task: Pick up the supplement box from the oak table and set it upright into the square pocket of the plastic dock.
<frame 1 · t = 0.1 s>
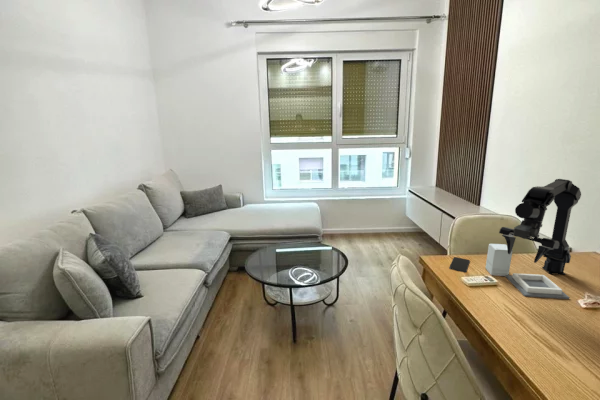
hand: (521, 258, 124), 15 cm above the table, tool pointing down, fingers open, 9 cm apart
supplement box: (496, 272, 145), on the table
smartphone: (459, 265, 153), on the table
dock: (535, 287, 132), on the table
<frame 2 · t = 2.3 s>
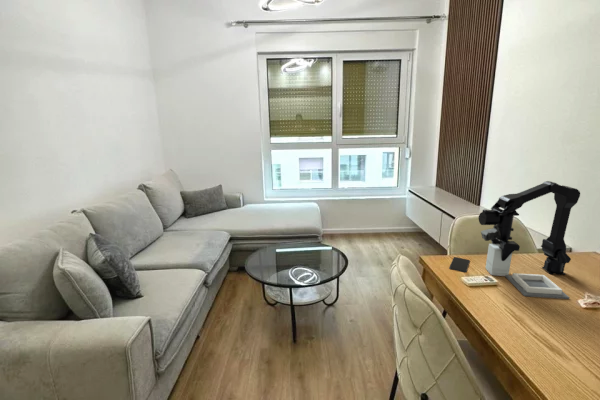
hand: (498, 257, 143), 8 cm above the table, tool pointing down, fingers closed on supplement box, 7 cm apart
supplement box: (496, 272, 145), on the table, touching gripper
everything else where it was.
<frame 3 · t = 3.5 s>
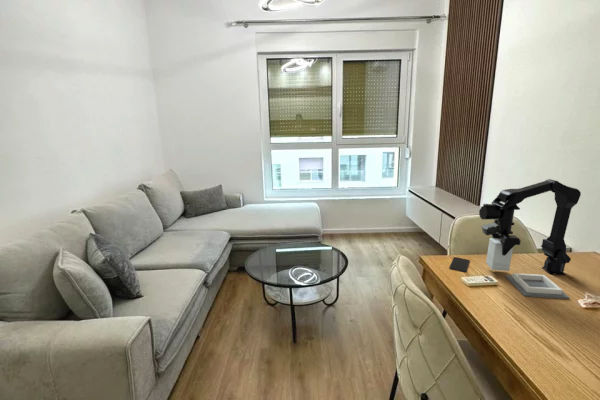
hand: (499, 251, 142), 10 cm above the table, tool pointing down, fingers closed on supplement box, 7 cm apart
supplement box: (497, 267, 144), point 2 cm above the table, touching gripper
everything else where it was.
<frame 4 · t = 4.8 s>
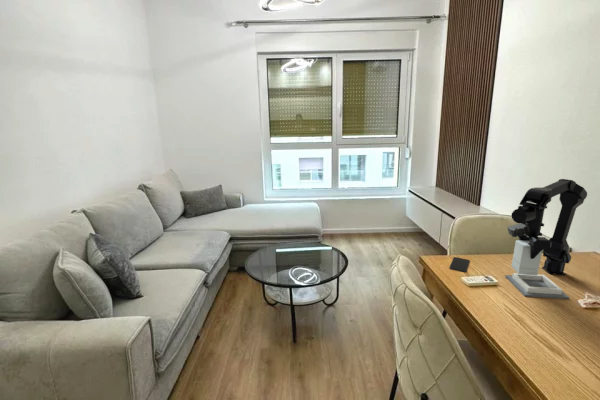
hand: (527, 254, 133), 13 cm above the table, tool pointing down, fingers closed on supplement box, 7 cm apart
supplement box: (523, 271, 135), point 5 cm above the table, touching gripper
everything else where it was.
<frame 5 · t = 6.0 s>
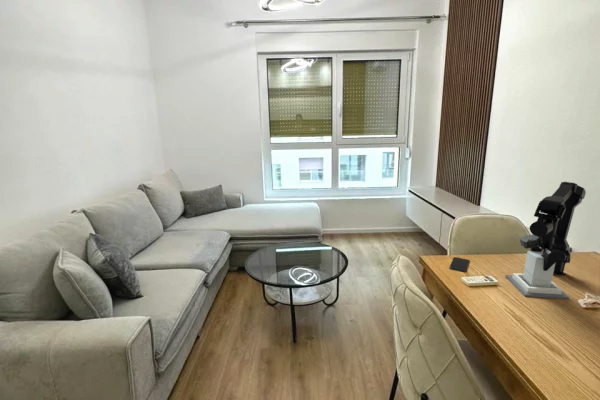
hand: (539, 266, 130), 10 cm above the table, tool pointing down, fingers closed on supplement box, 7 cm apart
supplement box: (535, 283, 132), point 2 cm above the table, touching gripper
everything else where it was.
when the fingers open (9 cm above the table, at t = 7.1 s): supplement box stays where it is, resting on dock.
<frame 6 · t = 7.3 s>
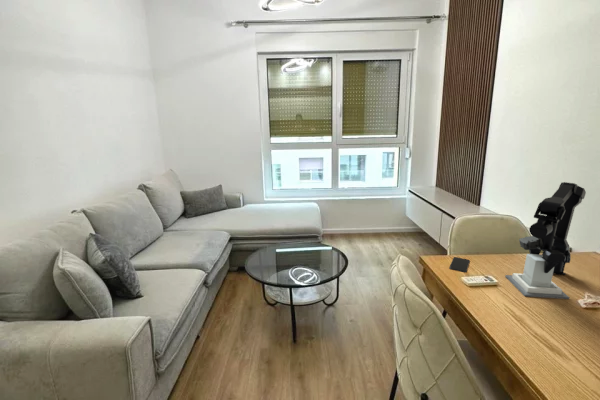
hand: (539, 267, 130), 9 cm above the table, tool pointing down, fingers open, 9 cm apart
supplement box: (535, 285, 132), point 1 cm above the table, touching dock
everything else where it was.
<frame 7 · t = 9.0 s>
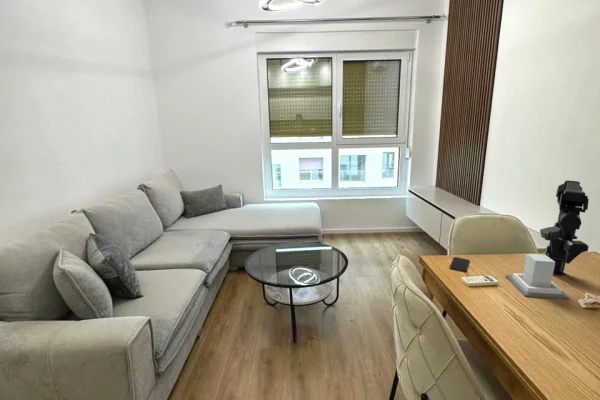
hand: (560, 258, 129), 13 cm above the table, tool pointing down, fingers open, 9 cm apart
nothing on the table moved.
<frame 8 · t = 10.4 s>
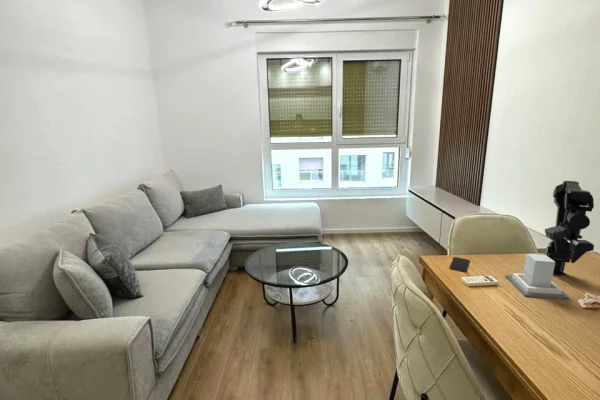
hand: (564, 257, 129), 13 cm above the table, tool pointing down, fingers open, 9 cm apart
nothing on the table moved.
at the end: supplement box 0.1 cm off-centre on the dock, point 0.6 cm above the dock's base; supplement box tilted 0°; the gripper is holding nothing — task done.
